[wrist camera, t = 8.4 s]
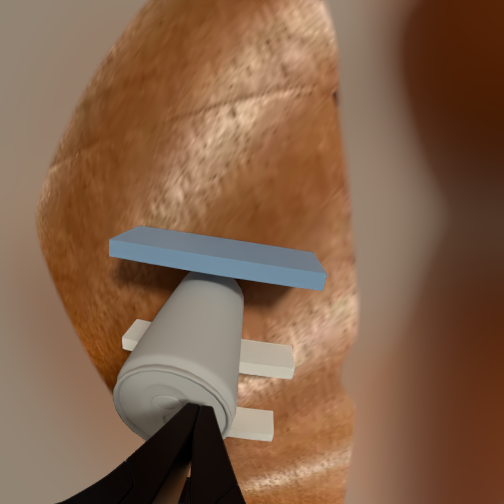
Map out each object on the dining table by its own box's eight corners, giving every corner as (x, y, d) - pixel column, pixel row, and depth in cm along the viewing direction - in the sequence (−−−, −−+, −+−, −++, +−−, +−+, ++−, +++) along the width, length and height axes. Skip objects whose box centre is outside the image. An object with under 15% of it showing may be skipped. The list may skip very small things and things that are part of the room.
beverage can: (184, 327, 21) (132, 447, 10) (173, 266, 20) (91, 361, 9) (247, 324, 21) (242, 454, 10) (241, 261, 20) (225, 364, 8)
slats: (270, 417, 24) (271, 454, 20) (141, 394, 24) (125, 426, 19) (313, 252, 20) (326, 273, 15) (139, 225, 20) (109, 239, 15)
